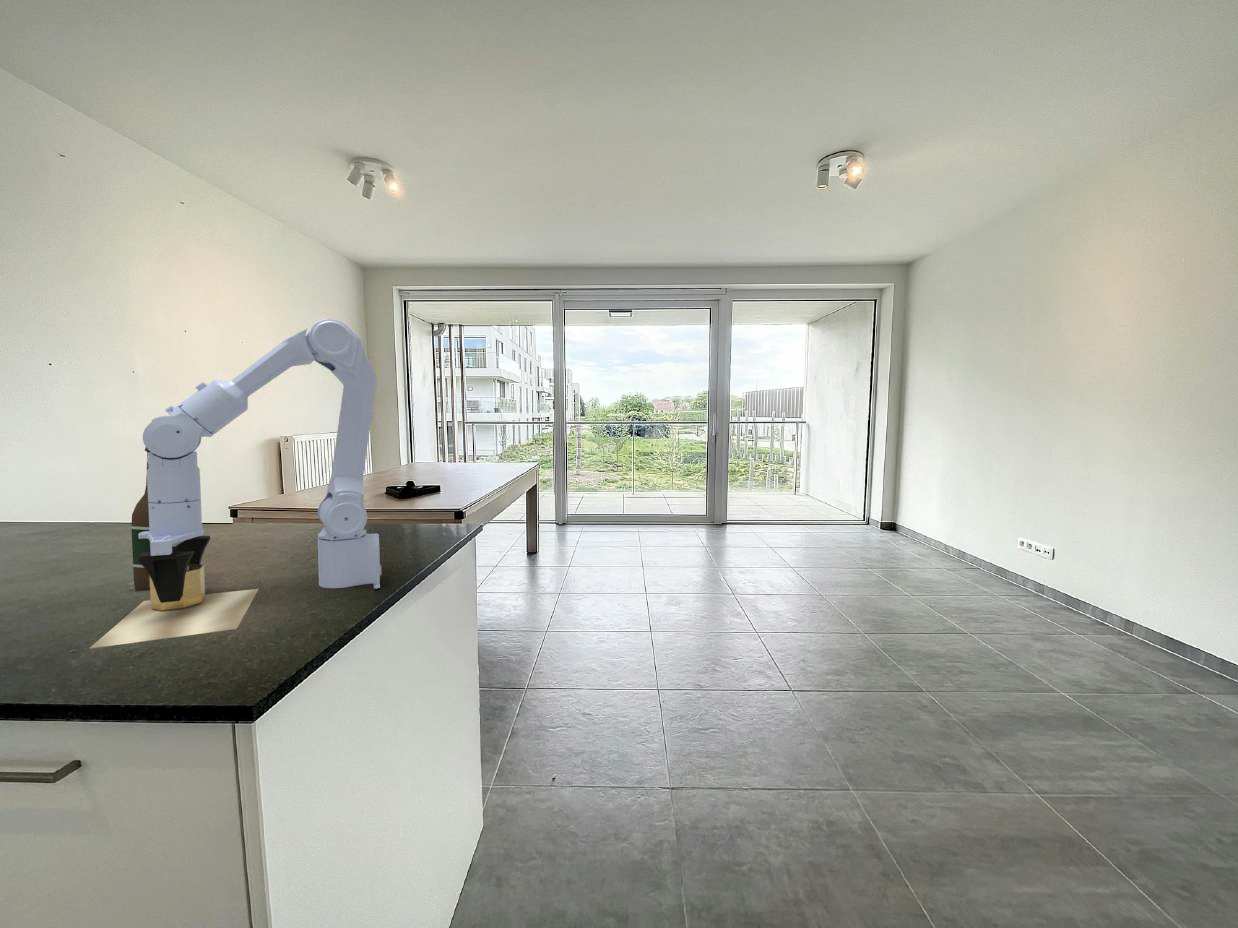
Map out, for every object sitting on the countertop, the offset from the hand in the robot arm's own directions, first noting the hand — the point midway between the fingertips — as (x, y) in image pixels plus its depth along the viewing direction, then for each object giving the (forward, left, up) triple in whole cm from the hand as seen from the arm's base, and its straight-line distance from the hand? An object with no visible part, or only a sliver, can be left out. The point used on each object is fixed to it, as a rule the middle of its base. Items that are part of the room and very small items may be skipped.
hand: (178, 593), depth 74 cm
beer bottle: (+5, -14, -3) cm, 15 cm away
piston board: (-2, +5, -3) cm, 6 cm away
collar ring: (0, 0, -1) cm, 1 cm away
